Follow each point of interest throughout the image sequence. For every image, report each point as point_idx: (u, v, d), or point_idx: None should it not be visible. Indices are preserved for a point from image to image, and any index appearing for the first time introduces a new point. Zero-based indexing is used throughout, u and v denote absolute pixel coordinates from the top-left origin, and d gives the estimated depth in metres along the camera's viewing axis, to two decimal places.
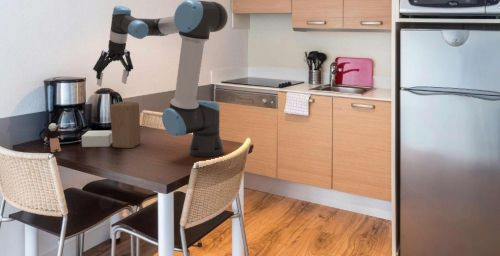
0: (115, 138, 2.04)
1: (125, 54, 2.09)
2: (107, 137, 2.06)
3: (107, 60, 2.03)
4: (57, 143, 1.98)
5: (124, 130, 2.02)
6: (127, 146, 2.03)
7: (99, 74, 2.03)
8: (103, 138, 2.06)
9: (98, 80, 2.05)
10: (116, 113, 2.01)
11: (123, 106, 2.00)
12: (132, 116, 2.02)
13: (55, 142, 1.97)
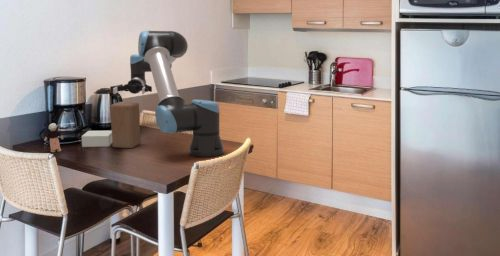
0: (115, 138, 2.04)
1: (143, 86, 2.30)
2: (107, 137, 2.06)
3: None
4: (57, 143, 1.98)
5: (124, 130, 2.02)
6: (127, 146, 2.03)
7: (114, 88, 2.20)
8: (103, 138, 2.06)
9: None
10: (116, 113, 2.01)
11: (123, 106, 2.00)
12: (132, 116, 2.02)
13: (55, 142, 1.97)
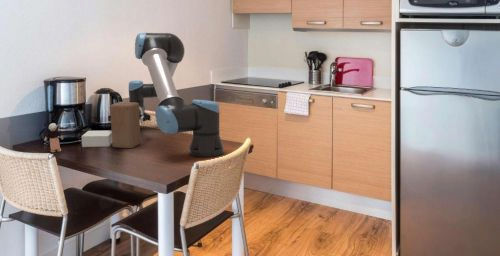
0: (115, 138, 2.04)
1: (141, 114, 2.25)
2: (107, 137, 2.06)
3: None
4: (57, 143, 1.98)
5: (124, 130, 2.02)
6: (127, 146, 2.03)
7: None
8: (103, 138, 2.06)
9: None
10: (116, 113, 2.01)
11: (123, 106, 2.00)
12: (132, 116, 2.02)
13: (55, 142, 1.97)
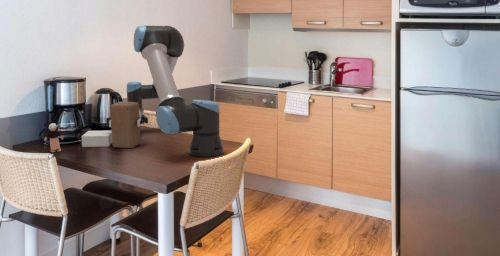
0: (115, 138, 2.04)
1: (140, 116, 2.18)
2: (107, 137, 2.06)
3: None
4: (57, 143, 1.98)
5: (124, 130, 2.02)
6: (127, 146, 2.03)
7: (110, 120, 2.08)
8: (103, 138, 2.06)
9: None
10: (116, 113, 2.01)
11: (123, 106, 2.00)
12: (132, 116, 2.02)
13: (55, 142, 1.97)
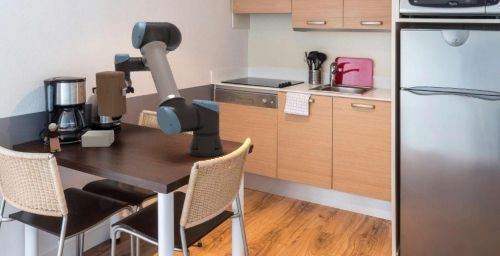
0: (101, 106, 2.03)
1: (126, 87, 2.18)
2: (107, 137, 2.06)
3: None
4: (57, 143, 1.98)
5: (109, 99, 2.02)
6: (112, 115, 2.03)
7: None
8: (103, 138, 2.06)
9: None
10: (101, 81, 2.01)
11: (108, 74, 2.00)
12: (118, 84, 2.02)
13: (55, 142, 1.97)
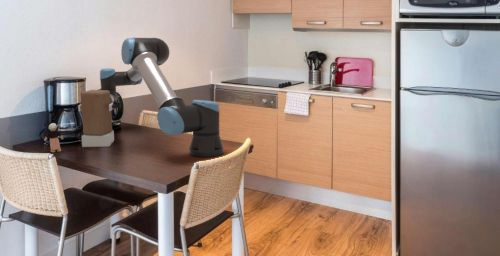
0: (86, 125, 2.06)
1: (112, 102, 2.20)
2: (107, 137, 2.06)
3: None
4: (57, 143, 1.98)
5: (94, 118, 2.05)
6: (98, 133, 2.06)
7: (80, 105, 2.10)
8: (103, 138, 2.06)
9: None
10: (86, 100, 2.04)
11: (93, 93, 2.03)
12: (103, 103, 2.05)
13: (55, 142, 1.97)
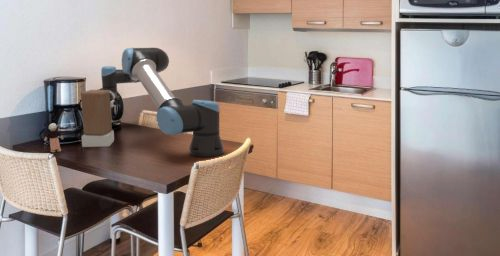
0: (87, 125, 2.06)
1: (113, 99, 2.27)
2: (107, 137, 2.06)
3: None
4: (57, 143, 1.98)
5: (95, 118, 2.05)
6: (98, 133, 2.06)
7: None
8: (103, 138, 2.06)
9: None
10: (87, 100, 2.04)
11: (94, 93, 2.03)
12: (103, 103, 2.06)
13: (55, 142, 1.97)
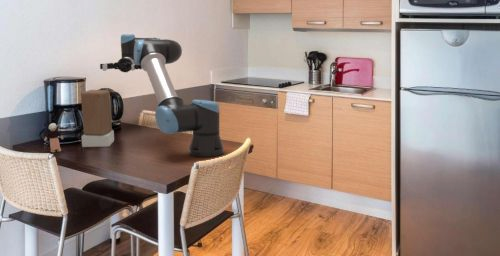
0: (87, 125, 2.06)
1: (133, 64, 2.30)
2: (107, 137, 2.06)
3: None
4: (57, 143, 1.98)
5: (95, 118, 2.05)
6: (98, 133, 2.06)
7: (104, 65, 2.20)
8: (103, 138, 2.06)
9: None
10: (87, 100, 2.04)
11: (94, 93, 2.03)
12: (104, 103, 2.06)
13: (55, 142, 1.97)
